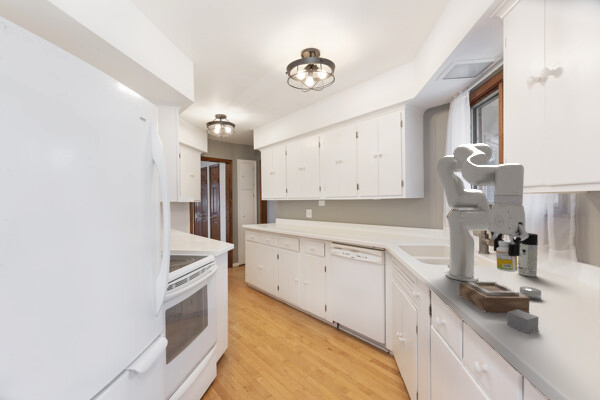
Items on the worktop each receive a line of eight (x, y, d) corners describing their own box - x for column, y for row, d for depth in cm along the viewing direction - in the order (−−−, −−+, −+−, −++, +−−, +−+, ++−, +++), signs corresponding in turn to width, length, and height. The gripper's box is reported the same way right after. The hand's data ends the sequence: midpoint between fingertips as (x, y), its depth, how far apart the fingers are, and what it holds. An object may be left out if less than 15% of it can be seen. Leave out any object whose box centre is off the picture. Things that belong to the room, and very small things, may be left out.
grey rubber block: (507, 325, 74) (507, 311, 74) (517, 322, 76) (518, 309, 76) (527, 334, 70) (527, 319, 70) (538, 330, 71) (538, 316, 71)
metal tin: (515, 294, 98) (515, 286, 98) (530, 294, 98) (531, 286, 98) (529, 300, 92) (529, 292, 92) (545, 300, 92) (546, 292, 92)
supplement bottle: (507, 268, 88) (506, 240, 89) (522, 271, 83) (520, 242, 83) (493, 268, 88) (491, 240, 88) (506, 272, 82) (505, 242, 83)
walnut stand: (459, 295, 96) (459, 279, 96) (496, 295, 96) (496, 280, 96) (485, 312, 82) (486, 294, 82) (529, 312, 82) (529, 294, 82)
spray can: (518, 271, 125) (519, 232, 125) (537, 274, 120) (538, 233, 120) (517, 274, 120) (518, 233, 120) (536, 278, 116) (537, 235, 115)
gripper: (478, 199, 93) (477, 247, 94) (519, 202, 76) (517, 260, 77) (498, 199, 93) (496, 247, 94) (543, 202, 76) (541, 260, 77)
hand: (506, 252), depth 86 cm, fingers closed on supplement bottle, 5 cm apart
